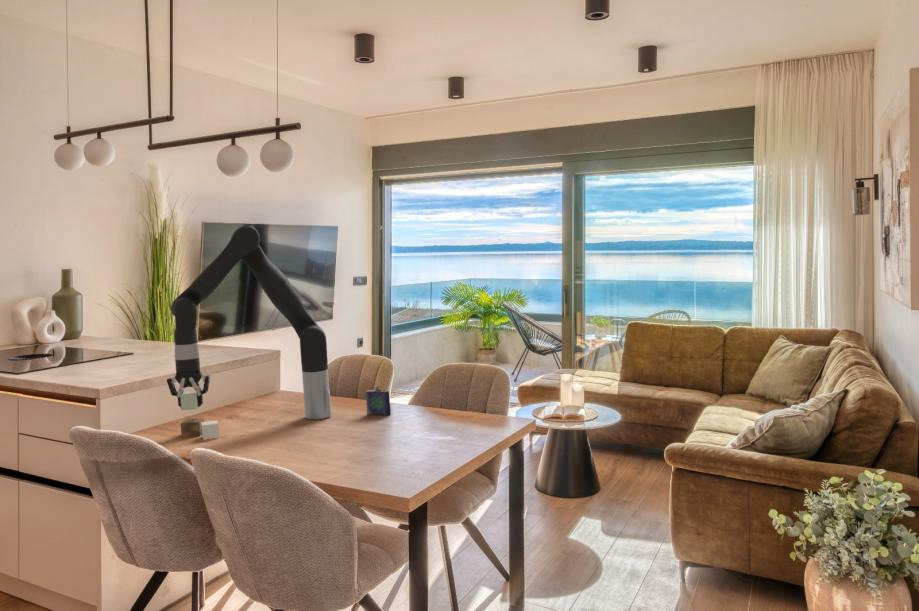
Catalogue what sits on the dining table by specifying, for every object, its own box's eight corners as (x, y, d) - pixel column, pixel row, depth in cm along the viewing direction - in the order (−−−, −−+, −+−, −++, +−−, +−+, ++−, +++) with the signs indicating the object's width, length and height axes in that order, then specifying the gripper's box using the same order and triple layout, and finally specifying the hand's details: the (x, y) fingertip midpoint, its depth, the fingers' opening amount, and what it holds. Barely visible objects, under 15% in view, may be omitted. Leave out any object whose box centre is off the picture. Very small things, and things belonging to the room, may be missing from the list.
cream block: (218, 434, 222) (217, 420, 222) (219, 438, 218) (218, 423, 217) (202, 437, 220) (201, 422, 220) (203, 440, 216) (202, 425, 215)
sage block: (200, 405, 226) (199, 391, 226) (196, 409, 221) (195, 394, 221) (185, 407, 225) (184, 392, 225) (181, 410, 220) (180, 395, 220)
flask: (365, 415, 239) (364, 386, 239) (369, 413, 242) (367, 384, 241) (389, 416, 236) (387, 386, 236) (392, 414, 239) (390, 385, 238)
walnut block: (204, 432, 227) (203, 417, 227) (200, 436, 221) (199, 421, 221) (186, 433, 226) (185, 419, 226) (181, 438, 220) (180, 423, 220)
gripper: (211, 354, 227) (215, 403, 228) (167, 357, 225) (171, 406, 226) (206, 357, 219) (210, 407, 221) (161, 360, 217) (165, 411, 219)
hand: (190, 406), depth 223 cm, fingers closed on sage block, 5 cm apart
